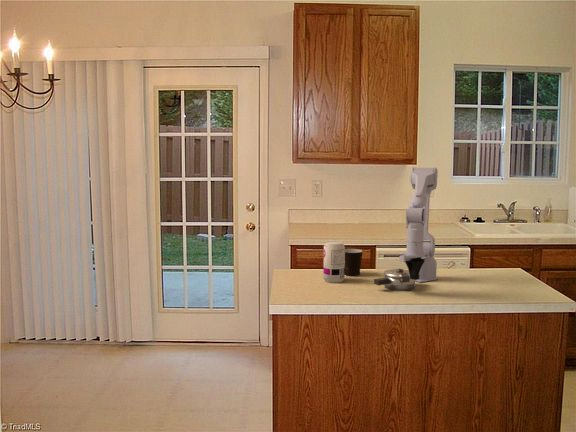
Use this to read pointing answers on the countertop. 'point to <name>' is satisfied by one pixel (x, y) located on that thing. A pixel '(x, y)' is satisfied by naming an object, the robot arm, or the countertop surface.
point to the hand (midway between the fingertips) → (413, 279)
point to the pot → (396, 283)
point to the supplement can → (334, 262)
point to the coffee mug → (353, 262)
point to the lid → (398, 274)
